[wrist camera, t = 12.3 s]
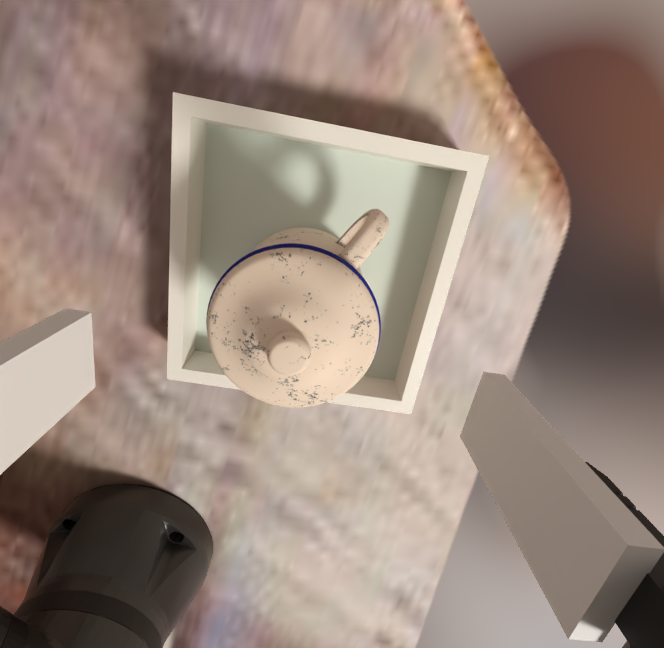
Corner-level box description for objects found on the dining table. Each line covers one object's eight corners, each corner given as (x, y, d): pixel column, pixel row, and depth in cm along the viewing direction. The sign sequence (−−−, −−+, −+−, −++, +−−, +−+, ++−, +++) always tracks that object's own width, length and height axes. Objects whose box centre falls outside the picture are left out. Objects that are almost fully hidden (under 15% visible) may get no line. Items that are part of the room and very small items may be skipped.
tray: (186, 354, 31) (166, 379, 27) (196, 104, 24) (172, 91, 20) (401, 386, 32) (411, 414, 28) (465, 158, 26) (489, 156, 22)
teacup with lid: (312, 364, 30) (303, 471, 19) (216, 293, 28) (145, 369, 17) (419, 249, 27) (483, 300, 16) (321, 158, 24) (316, 144, 14)
